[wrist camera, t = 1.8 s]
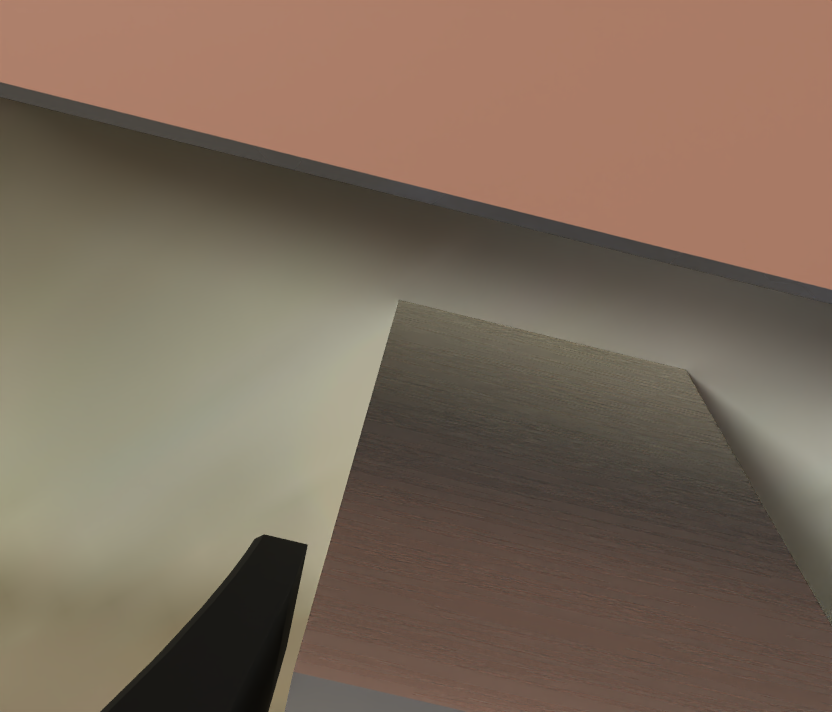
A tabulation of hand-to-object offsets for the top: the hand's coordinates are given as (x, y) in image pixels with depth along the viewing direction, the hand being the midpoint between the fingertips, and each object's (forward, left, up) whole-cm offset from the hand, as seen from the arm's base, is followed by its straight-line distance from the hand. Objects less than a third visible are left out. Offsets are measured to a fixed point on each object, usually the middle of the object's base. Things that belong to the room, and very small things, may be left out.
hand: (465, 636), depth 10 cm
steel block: (0, 0, -2) cm, 2 cm away
